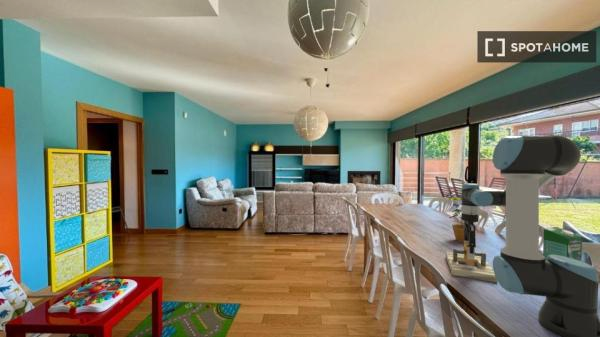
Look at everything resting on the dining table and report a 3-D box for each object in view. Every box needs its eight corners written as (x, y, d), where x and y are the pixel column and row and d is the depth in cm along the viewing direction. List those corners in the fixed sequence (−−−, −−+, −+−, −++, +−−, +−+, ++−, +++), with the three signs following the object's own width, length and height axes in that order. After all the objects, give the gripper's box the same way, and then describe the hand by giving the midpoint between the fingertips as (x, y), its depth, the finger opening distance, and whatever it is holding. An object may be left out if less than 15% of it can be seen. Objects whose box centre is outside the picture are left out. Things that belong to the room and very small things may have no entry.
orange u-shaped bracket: (474, 265, 126) (474, 248, 126) (467, 264, 127) (467, 247, 127) (470, 259, 134) (470, 242, 134) (463, 258, 136) (464, 241, 135)
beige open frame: (497, 282, 116) (497, 275, 116) (452, 275, 123) (452, 268, 123) (483, 262, 139) (483, 257, 139) (445, 257, 146) (446, 252, 146)
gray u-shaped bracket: (485, 271, 127) (486, 254, 127) (453, 266, 133) (453, 249, 133) (484, 270, 129) (485, 252, 129) (452, 265, 135) (453, 248, 134)
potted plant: (440, 238, 183) (441, 197, 182) (460, 236, 188) (461, 196, 187) (463, 246, 166) (464, 200, 165) (484, 243, 171) (485, 199, 170)
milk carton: (566, 290, 109) (568, 233, 108) (542, 280, 118) (543, 227, 117) (580, 287, 111) (582, 231, 111) (555, 278, 120) (556, 226, 119)
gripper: (484, 218, 119) (483, 265, 119) (473, 210, 139) (472, 250, 139) (465, 216, 122) (464, 262, 122) (457, 209, 142) (457, 248, 142)
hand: (468, 256), depth 131 cm, fingers closed on orange u-shaped bracket, 9 cm apart
